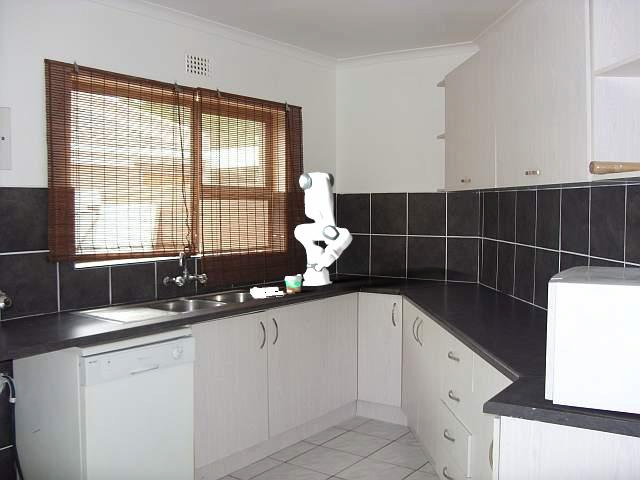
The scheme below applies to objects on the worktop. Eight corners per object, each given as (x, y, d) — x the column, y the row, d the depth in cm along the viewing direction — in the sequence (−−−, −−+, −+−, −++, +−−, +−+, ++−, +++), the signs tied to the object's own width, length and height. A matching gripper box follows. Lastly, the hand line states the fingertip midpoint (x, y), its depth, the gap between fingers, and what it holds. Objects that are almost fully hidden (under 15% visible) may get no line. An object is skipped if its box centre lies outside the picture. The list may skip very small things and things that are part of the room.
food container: (293, 294, 371) (292, 276, 371) (285, 293, 375) (284, 276, 375) (307, 291, 381) (306, 274, 381) (298, 290, 385) (298, 274, 385)
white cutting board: (250, 293, 384) (250, 287, 384) (277, 291, 388) (277, 285, 387) (254, 298, 362) (254, 292, 362) (283, 296, 365) (282, 290, 365)
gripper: (324, 248, 391) (309, 265, 389) (332, 249, 371) (316, 267, 369) (332, 255, 392) (317, 272, 390) (339, 256, 372) (324, 274, 370)
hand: (316, 270), depth 380 cm, fingers closed
